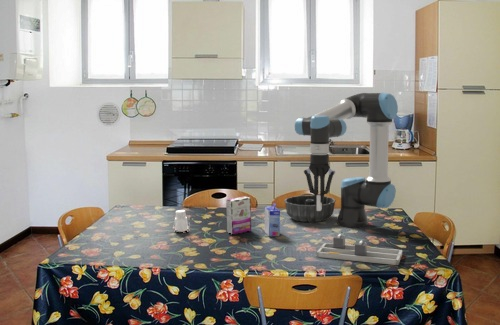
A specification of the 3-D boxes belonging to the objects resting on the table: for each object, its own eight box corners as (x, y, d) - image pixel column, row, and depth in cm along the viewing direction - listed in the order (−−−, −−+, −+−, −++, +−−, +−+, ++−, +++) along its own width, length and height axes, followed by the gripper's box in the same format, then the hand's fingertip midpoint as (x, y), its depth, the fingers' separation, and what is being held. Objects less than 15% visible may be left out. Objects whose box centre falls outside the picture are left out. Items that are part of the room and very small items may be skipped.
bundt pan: (277, 215, 303) (277, 196, 302) (322, 210, 311) (322, 193, 309) (295, 227, 278) (295, 207, 277) (344, 222, 286) (344, 203, 284)
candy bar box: (245, 229, 275) (245, 195, 273) (251, 231, 271) (251, 197, 269) (226, 233, 269) (225, 199, 266) (232, 235, 265) (231, 200, 262)
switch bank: (324, 249, 241) (324, 241, 240) (402, 257, 229) (402, 249, 229) (316, 259, 228) (316, 251, 227) (398, 268, 217) (398, 259, 216)
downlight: (191, 229, 276) (190, 209, 275) (188, 233, 269) (187, 212, 268) (175, 229, 277) (173, 209, 276) (172, 233, 270) (170, 213, 269)
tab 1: (335, 249, 237) (335, 233, 236) (345, 250, 236) (345, 234, 235) (333, 252, 233) (333, 236, 232) (342, 253, 232) (343, 236, 231)
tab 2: (356, 256, 228) (356, 239, 227) (366, 257, 226) (366, 240, 225) (354, 259, 224) (354, 242, 223) (364, 260, 222) (365, 243, 221)
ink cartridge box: (280, 236, 262) (280, 205, 260) (268, 237, 261) (268, 206, 259) (275, 230, 272) (275, 201, 269) (264, 231, 271) (263, 201, 268)
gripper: (301, 154, 231) (301, 210, 234) (333, 155, 226) (332, 213, 229) (306, 151, 237) (306, 207, 241) (337, 153, 233) (336, 209, 236)
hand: (319, 210), depth 235 cm, fingers closed
